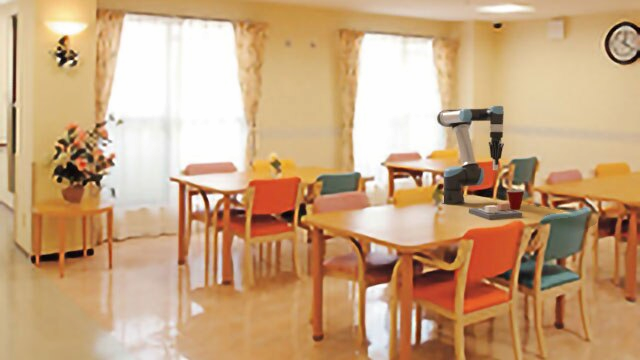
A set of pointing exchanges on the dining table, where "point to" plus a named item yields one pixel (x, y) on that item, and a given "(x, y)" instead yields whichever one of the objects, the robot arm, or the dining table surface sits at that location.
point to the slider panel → (498, 215)
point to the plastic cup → (515, 198)
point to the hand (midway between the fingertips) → (495, 169)
